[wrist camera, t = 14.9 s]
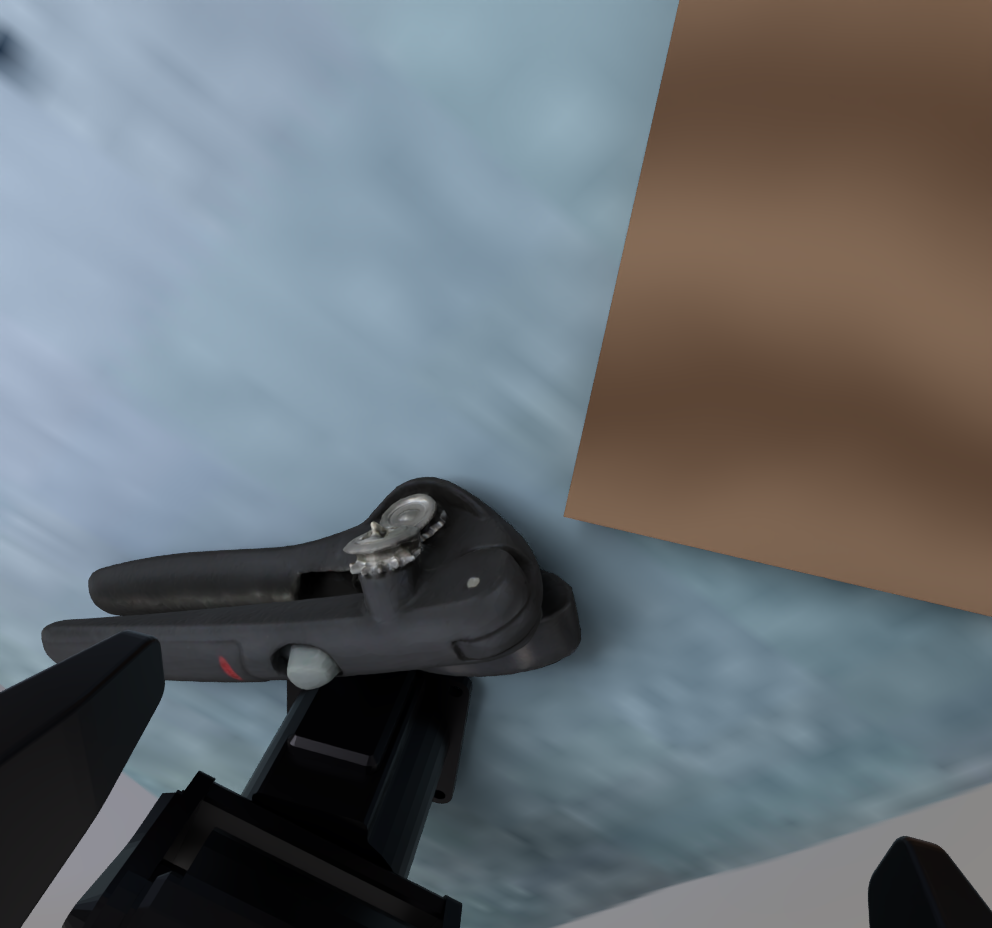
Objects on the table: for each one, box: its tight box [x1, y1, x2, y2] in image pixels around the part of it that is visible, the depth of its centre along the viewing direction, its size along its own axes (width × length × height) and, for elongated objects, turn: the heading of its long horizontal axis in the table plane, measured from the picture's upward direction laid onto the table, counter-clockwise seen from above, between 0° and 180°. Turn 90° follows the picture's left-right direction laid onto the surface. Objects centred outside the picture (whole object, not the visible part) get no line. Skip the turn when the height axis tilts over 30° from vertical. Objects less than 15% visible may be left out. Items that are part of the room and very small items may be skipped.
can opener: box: [41, 477, 581, 690], centre depth 23 cm, size 18×7×6 cm, turn 104°
